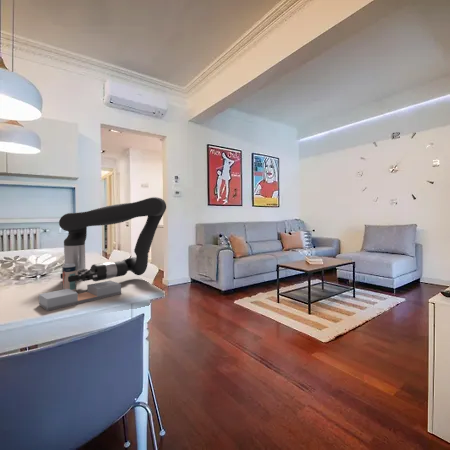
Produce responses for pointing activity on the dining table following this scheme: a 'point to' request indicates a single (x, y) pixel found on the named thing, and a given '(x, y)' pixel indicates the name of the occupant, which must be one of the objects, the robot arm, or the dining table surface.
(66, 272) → the beer can
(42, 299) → the grey peach bar
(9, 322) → the dining table surface
